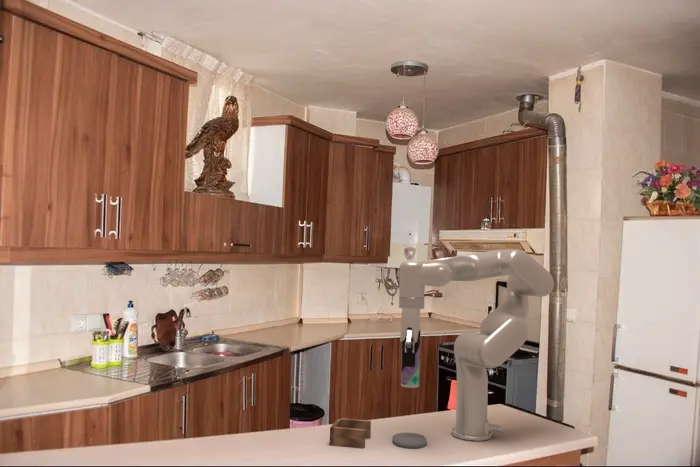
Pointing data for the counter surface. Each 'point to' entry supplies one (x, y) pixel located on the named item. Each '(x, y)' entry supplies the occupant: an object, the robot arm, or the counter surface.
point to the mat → (409, 440)
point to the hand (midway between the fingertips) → (410, 363)
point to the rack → (350, 432)
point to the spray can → (411, 373)
